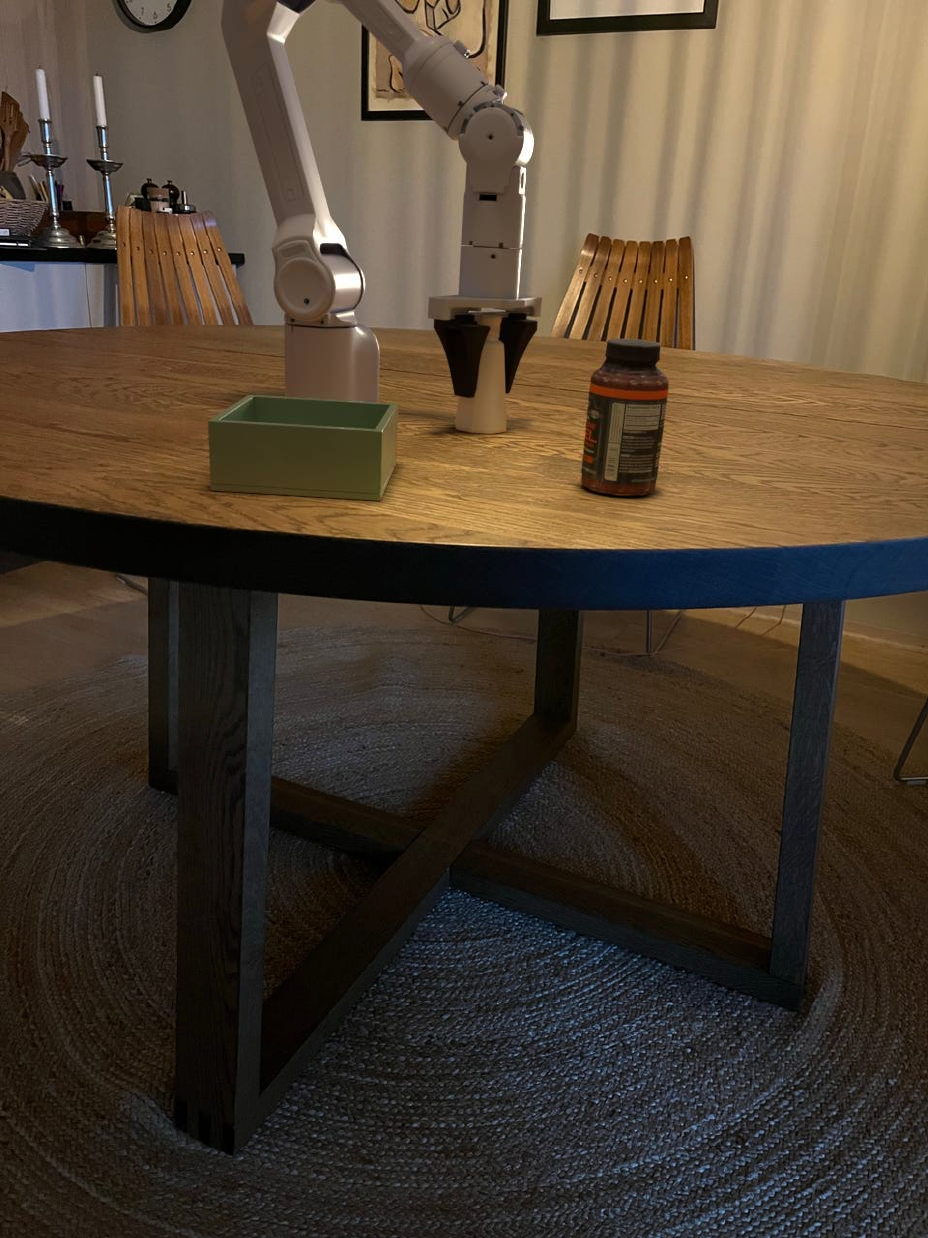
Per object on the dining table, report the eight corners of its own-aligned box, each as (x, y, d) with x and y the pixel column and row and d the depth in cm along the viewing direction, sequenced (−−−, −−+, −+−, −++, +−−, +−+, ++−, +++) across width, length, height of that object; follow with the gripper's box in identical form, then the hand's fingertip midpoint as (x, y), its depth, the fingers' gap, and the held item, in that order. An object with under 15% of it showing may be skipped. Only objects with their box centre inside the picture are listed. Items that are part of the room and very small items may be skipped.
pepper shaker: (513, 427, 101) (522, 314, 97) (498, 436, 96) (506, 317, 92) (463, 421, 103) (469, 310, 99) (445, 429, 98) (451, 313, 94)
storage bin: (249, 455, 83) (248, 394, 81) (396, 464, 82) (398, 403, 81) (210, 490, 71) (207, 420, 69) (380, 501, 71) (382, 430, 69)
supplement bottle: (573, 478, 81) (586, 334, 77) (644, 481, 82) (662, 338, 78) (587, 497, 76) (603, 343, 71) (664, 499, 76) (684, 347, 72)
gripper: (472, 247, 86) (463, 406, 91) (571, 251, 96) (558, 394, 101) (413, 243, 90) (408, 395, 95) (514, 248, 100) (505, 384, 105)
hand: (482, 394), depth 98 cm, fingers open, 5 cm apart
